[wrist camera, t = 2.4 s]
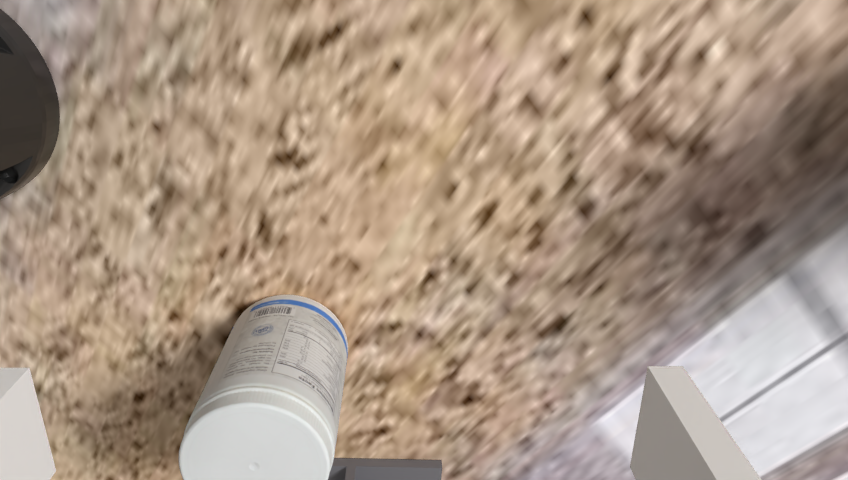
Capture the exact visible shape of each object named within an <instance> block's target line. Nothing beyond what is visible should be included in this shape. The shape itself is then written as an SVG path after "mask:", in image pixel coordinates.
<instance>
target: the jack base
mask: <svg viewBox="0 0 848 480" xmlns="http://www.w3.org/2000/svg"><path fill="white" fill-rule="evenodd" d="M441 474H442V462H441V460H407V459H358V458H334V460H333V464H332V468H331V470H330V473H329V478H328V480H441Z"/></svg>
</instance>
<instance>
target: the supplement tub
mask: <svg viewBox="0 0 848 480" xmlns="http://www.w3.org/2000/svg"><path fill="white" fill-rule="evenodd" d="M347 356H348V342H347V337H346V333H345V331H344V328H343V326H342V325H341V323H340V321H339V320H338V319H337V317H336V316H335V315H334V314H333V313H332V312H331V311H330V310H329V309H328V308H326V307H325V306H323V305H322V304H320V303H318V302H316V301H314V300H312V299H309V298H306V297H303V296H298V295H276V296H271V297H267V298H265V299H262V300H260V301H258V302H256V303H254V304H253V305H251V306H250V307H248V308H247V309H246V310H245V311H244V312H243V313H242V314H241V315H240V317H239V318H238V319H237V321H236V323H235V325H234V327H233V328H232V330H231V332H230V335H229V337H228V339H227V341H226V343H225V345H224V347H223V349H222V351H221V354H220V356H219V358H218V360H217V362H216V364H215V366H214V368H213V370H212V373H211V375H210V377H209V379H208V381H207V383H206V385H205V387H204V389H203V391H202V394H201V396H200V398H199V400H198V402H197V404H196V406H195V408H194V410H193V412H192V415H191V417H190V419H189V421H188V424H187V426H186V429H185V432H184V437H183V440H182V442H181V446H180V450H179V467H180V471H181V474H182V477H183V480H328V478H329V473H330V470H331V468H332V464H333V460H334V453H335V446H336V440H337V432H338V424H339V417H340V409H341V402H342V394H343V387H344V379H345V371H346V364H347Z"/></svg>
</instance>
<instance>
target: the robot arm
mask: <svg viewBox="0 0 848 480" xmlns="http://www.w3.org/2000/svg"><path fill="white" fill-rule="evenodd" d="M59 119H60V114H59V103H58V97H57V92H56V88H55V85H54V82H53V79H52V76H51V74H50V71H49V69H48V67H47V65H46V63H45V61H44V59H43V57H42V56H41V54H40V52H39V50H38V49H37V48H36V46H35V45H34V43H33V42H32V41H31V39H30V38H29V37H28V35H27V34H26V33H25V32H24V31H23V30H22V28H21V27H20V26H19V25H18V24H17V23H16V22H15V21H14V20H13V19H12V18H10V17H9V16H8V15H7V14H6V13H5V12H4V11H2V10H1V9H0V199H1V198H3V197H5V196H7V195H9V194H10V193H12V192H14V191H16V190H17V189H19V188H21V187H22V186H24V185H26V184H27V183H28V182H30V181H31V180H32V179H33V178H34V177H36V176H37V175H38V174H39V172H40V171H41V170H42V169H43V168H44V166H45V165H46V163H47V162H48V160H49V159H50V156H51V154H52V152H53V150H54V147H55V144H56V141H57V137H58V132H59ZM630 468H631V470H632V472H633V474H634V477H635V479H636V480H761V479H760V477H759V476H758V474H757V473H756V471H755V470H754V468H753V467H752V466H751V464H750V463H749V461H748V460H747V458H746V457H745V455H744V454H743V453H742V451H741V450H740V448H739V447H738V445H737V444H736V442H735V441H734V440H733V438H732V437H731V435H730V434H729V432H728V431H727V429H726V428H725V427H724V425H723V424H722V422H721V421H720V419H719V418H718V416H717V415H716V414H715V412H714V411H713V409H712V408H711V406H710V405H709V404H708V402H707V401H706V399H705V398H704V396H703V395H702V393H701V392H700V391H699V389H698V388H697V386H696V385H695V383H694V382H693V380H692V379H691V378H690V376H689V375H688V373H687V372H686V370H685V369H684V367H683V366H648V368H647V374H646V379H645V385H644V391H643V396H642V402H641V408H640V413H639V419H638V424H637V430H636V436H635V441H634V447H633V453H632V458H631V464H630ZM55 472H56V469H55V465H54V461H53V457H52V453H51V449H50V445H49V442H48V438H47V434H46V430H45V426H44V422H43V419H42V415H41V411H40V407H39V403H38V399H37V395H36V392H35V388H34V384H33V380H32V376H31V372H30V369H29V368H0V480H50V479H51V477H52V476H53V475H54V473H55Z"/></svg>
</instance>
